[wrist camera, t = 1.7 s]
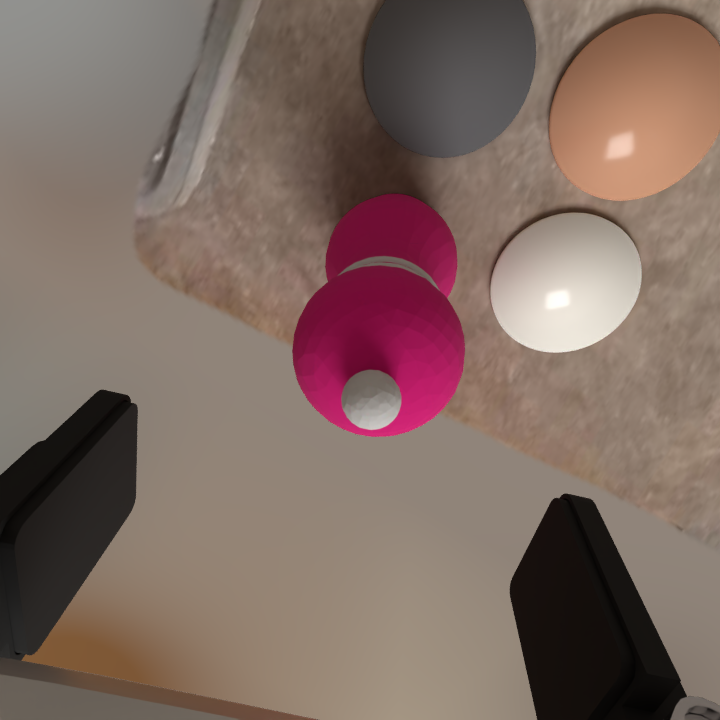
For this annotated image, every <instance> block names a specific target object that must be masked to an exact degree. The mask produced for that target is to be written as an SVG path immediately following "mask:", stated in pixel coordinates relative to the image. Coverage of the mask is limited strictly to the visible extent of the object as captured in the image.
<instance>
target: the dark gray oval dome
mask: <svg viewBox="0 0 720 720" xmlns="http://www.w3.org/2000/svg"><path fill="white" fill-rule="evenodd" d="M535 58H536V45H535V35H534V30H533V25H532V22H531V19H530V16H529V13H528V11H527V9H526V7H525V4H524V2H523V1H522V0H386V1H385V3H384V4H383V5H382V7H381V8H380V10H379V12H378V14H377V16H376V17H375V20H374V22H373V24H372V27H371V29H370V32H369V36H368V39H367V43H366V48H365V54H364V82H365V87H366V93H367V96H368V99H369V103H370V105H371V108H372V110H373V112H374V115H375V116H376V118H377V120H378V121H379V123H380V124H381V126H382V127H383V128H384V129H385V131H386V132H387V133H388V134H389V135H390V136H391V137H392V138H393V139H394V140H395V141H397V142H398V143H399V144H401V145H402V146H404V147H405V148H407V149H409V150H411V151H413V152H416V153H418V154H421V155H425V156H430V157H439V158H446V157H455V156H460V155H464V154H467V153H470V152H473V151H475V150H477V149H479V148H481V147H483V146H485V145H486V144H488V143H489V142H491V141H492V140H494V139H495V138H496V137H497V136H498V135H500V134H501V133H502V132H503V131H504V130H505V129H506V128H507V126H508V125H509V124H510V123H511V122H512V120H513V119H514V118H515V116H516V115H517V114H518V112H519V110H520V108H521V107H522V105H523V103H524V101H525V99H526V96H527V94H528V92H529V89H530V86H531V82H532V79H533V74H534V68H535Z"/></svg>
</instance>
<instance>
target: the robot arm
mask: <svg viewBox="0 0 720 720" xmlns="http://www.w3.org/2000/svg"><path fill="white" fill-rule="evenodd" d="M137 414H138V410H137V405H136V404H134V403H131V399H130V397H129V396H128V395H124V394H120V393H115V392H111V391H107V390H99V391H98V392H97V393H95V394H94V395H93V396H92V397H91V398H90V399H89V400H88V401H87V402H86V403H85V404H84V405H83V406H81V408H79V409H78V410H77V411H76V412H75V413H74V414H73V415H72V416H71V417H70V418H69V419H68V420H66V421H65V422H64V423H63V424H62V425H61V426H60V427H59V428H58V429H57V430H56V431H54V432H53V433H52V434H51V435H50V436H49V437H48V438H47V439H46V440H44V441H40V442H38V443H36V444H35V445H33V446H32V447H31V448H30V449H29V450H28V451H26V452H25V453H24V454H23V455H22V456H21V457H20V458H19V459H18V460H17V461H16V462H14V463H13V464H12V465H11V466H10V467H9V468H8V469H7V470H6V471H5V472H4V473H2V474H1V475H0V720H318V719H313V718H308V717H303V716H298V715H293V714H288V713H284V712H279V711H274V710H269V709H264V708H260V707H255V706H250V705H245V704H240V703H236V702H231V701H226V700H221V699H216V698H211V697H206V696H201V695H196V694H191V693H186V692H181V691H176V690H171V689H166V688H161V687H156V686H151V685H146V684H141V683H137V682H132V681H127V680H122V679H117V678H112V677H107V676H102V675H97V674H91V673H85V672H80V671H75V670H69V669H64V668H58V667H53V666H48V665H42V664H36V663H31V662H25V661H21V660H22V658H23V657H24V655H25V654H27V655H32V654H34V653H35V652H36V651H37V650H38V649H39V648H40V646H41V645H42V643H43V642H44V640H45V639H46V638H47V636H48V634H49V633H50V631H51V630H52V629H53V627H54V626H55V624H56V623H57V621H58V620H59V618H60V617H61V615H62V614H63V612H64V610H65V609H66V608H67V606H68V605H69V603H70V602H71V600H72V599H73V597H74V596H75V594H76V593H77V591H78V590H79V589H80V587H81V586H82V584H83V583H84V581H85V580H86V578H87V577H88V575H89V573H90V572H91V571H92V569H93V568H94V566H95V565H96V563H97V562H98V560H99V559H100V557H101V556H102V554H103V553H104V551H105V550H106V548H107V547H108V545H109V544H110V542H111V541H112V540H113V538H114V537H115V535H116V534H117V532H118V531H119V529H120V528H121V526H122V525H123V523H124V522H125V520H126V519H127V517H128V516H129V514H130V513H131V511H132V508H133V506H134V503H135V499H136V463H137V416H138V415H137ZM510 598H511V602H512V606H513V611H514V616H515V620H516V625H517V629H518V634H519V638H520V642H521V647H522V652H523V657H524V661H525V665H526V670H527V675H528V679H529V684H530V688H531V692H532V697H533V702H534V706H535V711H536V716H537V720H720V706H719V705H718V704H716V703H714V702H712V701H709V700H707V699H704V698H701V697H694V696H688V697H687V695H686V693H685V691H684V689H683V687H682V685H681V683H680V681H681V680H680V678H679V676H678V674H677V672H676V669H675V668H674V665H673V663H672V662H671V659H670V657H669V655H668V653H667V651H666V649H665V647H664V645H663V643H662V641H661V639H660V637H659V634H658V632H657V630H656V628H655V626H654V624H653V622H652V620H651V618H650V616H649V614H648V612H647V610H646V608H645V606H644V604H643V601H642V599H641V597H640V595H639V593H638V591H637V589H636V587H635V585H634V583H633V581H632V579H631V577H630V575H629V573H628V571H627V569H626V566H625V565H624V562H623V560H622V558H621V556H620V554H619V553H618V550H617V548H616V546H615V544H614V542H613V540H612V538H611V536H610V534H609V532H608V529H607V527H606V525H605V524H604V521H603V519H602V517H601V515H600V513H599V511H598V509H597V507H596V505H595V503H594V502H593V500H591V499H589V498H584V497H579V496H575V495H571V494H563V495H562V496H561V497H560V498H554V499H553V500H552V501H551V503H550V505H549V507H548V509H547V511H546V513H545V515H544V517H543V519H542V521H541V523H540V524H539V526H538V528H537V530H536V533H535V534H534V536H533V538H532V540H531V542H530V544H529V546H528V548H527V550H526V552H525V554H524V556H523V558H522V560H521V562H520V564H519V566H518V568H517V570H516V572H515V574H514V576H513V578H512V580H511V584H510Z"/></svg>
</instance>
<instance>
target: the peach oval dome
mask: <svg viewBox="0 0 720 720" xmlns="http://www.w3.org/2000/svg"><path fill="white" fill-rule="evenodd" d="M719 132H720V45H719V44H718V42H717V40H716V39H715V38H714V37H713V36H712V35H711V33H710V32H709V31H707V30H706V29H705V28H704V27H702V26H701V25H700V24H698V23H696V22H694V21H692V20H691V19H688V18H685V17H682V16H679V15H673V14H649V15H642V16H639V17H635V18H632V19H629V20H626V21H624V22H622V23H619V24H617V25H615V26H613V27H611V28H609V29H608V30H606V31H604V32H603V33H601V34H600V35H599V36H597V37H596V38H595V39H593V40H592V41H591V42H590V43H589V44H588V45H587V46H585V47H584V48H583V49H582V50H581V52H580V53H579V54H578V55H577V56H576V57H575V58H574V60H573V61H572V63H571V64H570V65H569V67H568V68H567V70H566V71H565V73H564V75H563V77H562V79H561V80H560V82H559V85H558V87H557V90H556V92H555V95H554V98H553V102H552V105H551V111H550V117H549V138H550V144H551V149H552V153H553V155H554V158H555V161H556V163H557V164H558V166H559V168H560V170H561V171H562V172H563V174H564V175H565V176H566V178H567V179H568V180H569V181H570V182H572V183H573V184H574V185H575V186H577V187H578V188H579V189H581V190H583V191H585V192H587V193H589V194H591V195H593V196H596V197H599V198H602V199H608V200H621V201H624V200H634V199H638V198H643V197H646V196H649V195H652V194H655V193H657V192H659V191H662V190H664V189H666V188H668V187H669V186H671V185H673V184H674V183H676V182H677V181H679V180H680V179H681V178H683V177H684V176H685V175H686V174H688V173H689V172H690V171H691V170H692V169H693V168H694V167H695V166H696V165H697V164H698V163H699V162H700V161H701V159H702V158H703V157H704V156H705V155H706V153H707V152H708V150H709V149H710V148H711V146H712V145H713V143H714V141H715V139H716V138H717V136H718V134H719Z"/></svg>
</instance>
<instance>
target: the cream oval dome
mask: <svg viewBox="0 0 720 720" xmlns="http://www.w3.org/2000/svg"><path fill="white" fill-rule="evenodd" d="M641 279H642V267H641V261H640V257H639V254H638V251H637V249H636V247H635V245H634V243H633V242H632V240H631V239H630V238H629V236H628V235H627V234H626V233H625V232H624V231H623V230H622V229H621V228H619V227H618V226H617V225H615V224H614V223H612V222H610V221H608V220H606V219H604V218H602V217H599V216H596V215H593V214H587V213H577V212H571V213H561V214H557V215H552V216H549V217H547V218H544V219H541V220H539V221H537V222H535V223H533V224H531V225H530V226H528V227H527V228H525V229H524V230H522V231H521V232H520V233H519V234H518V235H516V236H515V237H514V238H513V239H512V240H511V241H510V242H509V243H508V245H507V246H506V247H505V249H504V250H503V251H502V253H501V255H500V257H499V258H498V260H497V263H496V265H495V267H494V270H493V274H492V277H491V285H490V297H491V304H492V307H493V310H494V313H495V315H496V318H497V320H498V322H499V323H500V325H501V326H502V328H503V329H504V330H505V331H506V332H507V333H508V335H510V336H511V337H512V338H513V339H514V340H516V341H517V342H519V343H521V344H522V345H525V346H527V347H529V348H532V349H535V350H538V351H544V352H568V351H574V350H578V349H581V348H584V347H587V346H589V345H592V344H594V343H596V342H598V341H599V340H601V339H603V338H604V337H606V336H607V335H609V334H610V333H611V332H612V331H614V330H615V329H616V328H617V327H618V326H619V325H620V324H621V323H622V322H623V321H624V319H625V318H626V317H627V315H628V314H629V313H630V311H631V309H632V307H633V306H634V304H635V301H636V299H637V297H638V294H639V290H640V286H641Z"/></svg>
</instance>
